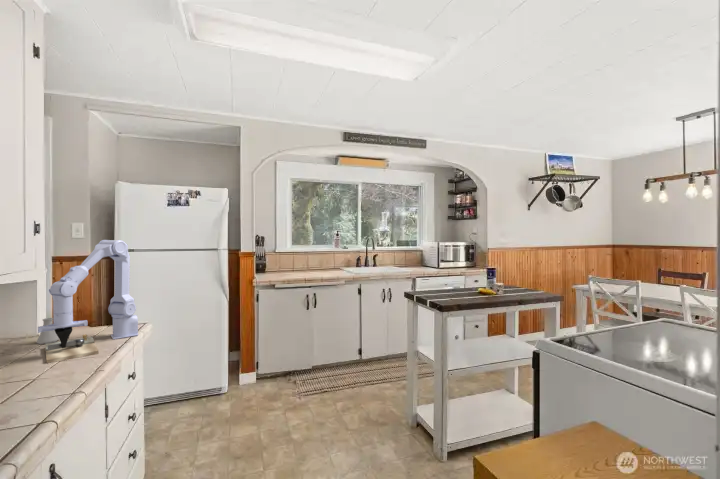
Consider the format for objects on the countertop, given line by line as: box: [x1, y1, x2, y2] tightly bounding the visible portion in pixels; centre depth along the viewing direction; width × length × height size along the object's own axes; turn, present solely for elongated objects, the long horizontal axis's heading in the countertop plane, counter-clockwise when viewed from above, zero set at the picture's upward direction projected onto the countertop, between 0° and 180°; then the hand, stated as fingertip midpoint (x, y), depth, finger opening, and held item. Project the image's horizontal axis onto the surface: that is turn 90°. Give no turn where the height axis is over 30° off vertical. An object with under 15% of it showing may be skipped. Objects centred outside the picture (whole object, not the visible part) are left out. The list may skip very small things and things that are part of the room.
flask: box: [35, 317, 60, 345], centre depth 149 cm, size 7×7×10 cm
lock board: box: [44, 334, 99, 364], centre depth 138 cm, size 15×22×4 cm
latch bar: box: [48, 338, 84, 350], centre depth 137 cm, size 11×3×2 cm, turn 144°
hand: (63, 347), depth 134 cm, fingers closed, pressing on latch bar
